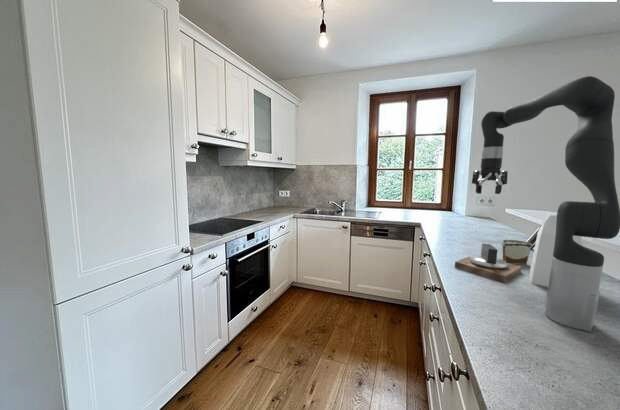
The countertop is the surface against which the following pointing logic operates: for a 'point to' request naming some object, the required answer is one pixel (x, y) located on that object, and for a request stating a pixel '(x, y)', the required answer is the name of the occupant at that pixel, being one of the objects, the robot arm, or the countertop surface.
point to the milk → (545, 252)
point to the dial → (488, 258)
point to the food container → (516, 251)
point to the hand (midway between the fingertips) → (488, 193)
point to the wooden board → (489, 270)
